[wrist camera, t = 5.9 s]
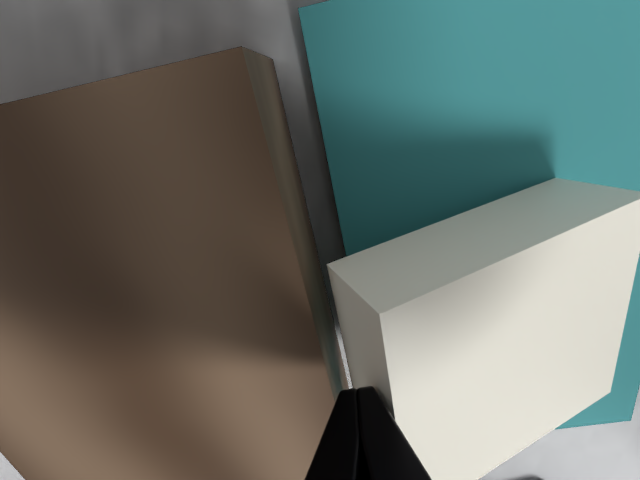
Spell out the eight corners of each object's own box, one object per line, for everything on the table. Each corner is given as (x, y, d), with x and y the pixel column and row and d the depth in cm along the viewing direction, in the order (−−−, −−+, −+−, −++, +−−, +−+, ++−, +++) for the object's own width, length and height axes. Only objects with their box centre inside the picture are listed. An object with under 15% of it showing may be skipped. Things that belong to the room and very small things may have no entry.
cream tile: (365, 446, 11) (411, 524, 9) (326, 264, 9) (379, 314, 6) (540, 348, 14) (610, 392, 12) (555, 177, 11) (652, 193, 9)
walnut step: (143, 458, 17) (94, 557, 14) (-63, 137, 11) (-256, 165, 7) (359, 432, 16) (368, 532, 13) (272, 59, 10) (241, 46, 6)
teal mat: (382, 443, 17) (383, 449, 16) (299, 10, 9) (297, 8, 9) (625, 414, 16) (630, 420, 15) (743, -100, 8) (757, -106, 8)
